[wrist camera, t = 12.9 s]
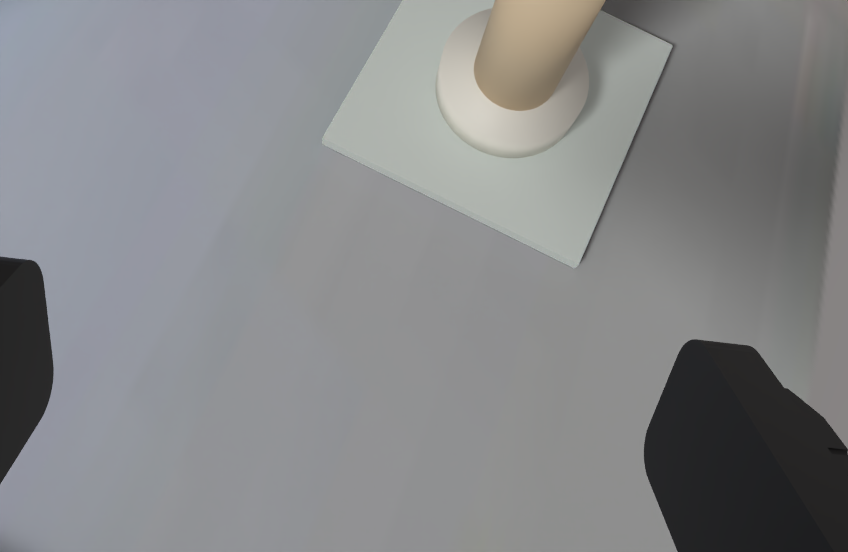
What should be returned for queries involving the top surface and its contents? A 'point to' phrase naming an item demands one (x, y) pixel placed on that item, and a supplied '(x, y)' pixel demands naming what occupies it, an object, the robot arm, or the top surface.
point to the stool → (516, 75)
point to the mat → (486, 174)
